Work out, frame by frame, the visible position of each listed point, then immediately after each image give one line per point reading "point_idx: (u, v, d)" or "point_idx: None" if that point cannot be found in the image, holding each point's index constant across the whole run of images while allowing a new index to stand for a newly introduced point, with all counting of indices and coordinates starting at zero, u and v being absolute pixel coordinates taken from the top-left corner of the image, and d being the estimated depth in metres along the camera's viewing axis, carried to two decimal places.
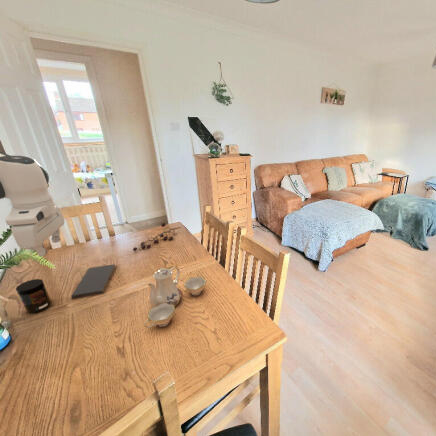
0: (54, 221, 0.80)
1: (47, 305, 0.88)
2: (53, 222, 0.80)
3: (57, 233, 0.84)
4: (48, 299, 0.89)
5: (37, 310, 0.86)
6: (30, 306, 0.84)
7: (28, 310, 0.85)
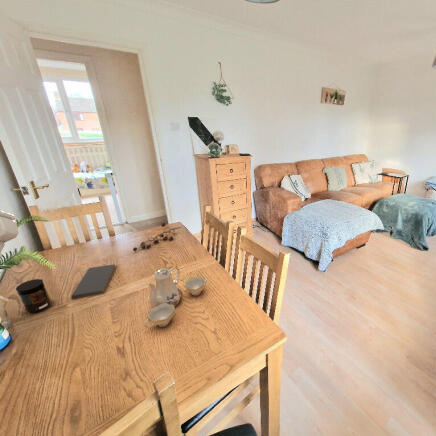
0: None
1: (47, 305, 0.88)
2: None
3: None
4: (48, 299, 0.89)
5: (37, 310, 0.86)
6: (30, 306, 0.84)
7: (28, 310, 0.85)
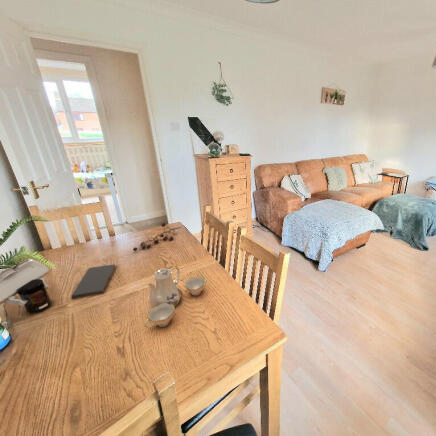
0: None
1: (47, 305, 0.88)
2: None
3: None
4: (48, 299, 0.89)
5: (37, 310, 0.86)
6: (30, 306, 0.84)
7: (28, 310, 0.85)
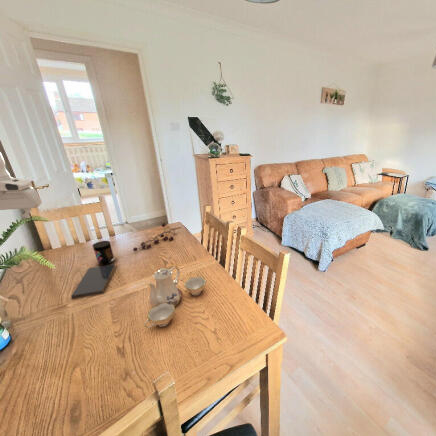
0: None
1: (114, 259, 1.18)
2: None
3: None
4: (113, 255, 1.18)
5: (110, 262, 1.16)
6: (106, 259, 1.14)
7: (104, 263, 1.14)
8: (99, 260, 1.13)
